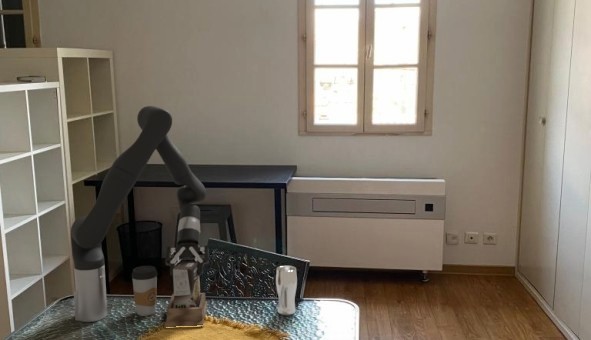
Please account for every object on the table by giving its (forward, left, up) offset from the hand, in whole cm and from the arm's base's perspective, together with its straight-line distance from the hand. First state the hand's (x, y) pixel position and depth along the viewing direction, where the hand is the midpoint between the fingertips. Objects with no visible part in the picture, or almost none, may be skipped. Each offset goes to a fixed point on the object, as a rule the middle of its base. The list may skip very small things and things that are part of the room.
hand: (186, 275), depth 181 cm
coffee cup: (-14, +3, -14) cm, 20 cm away
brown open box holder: (0, -1, -13) cm, 13 cm away
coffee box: (0, -1, -13) cm, 13 cm away
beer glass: (+33, -1, -14) cm, 36 cm away
